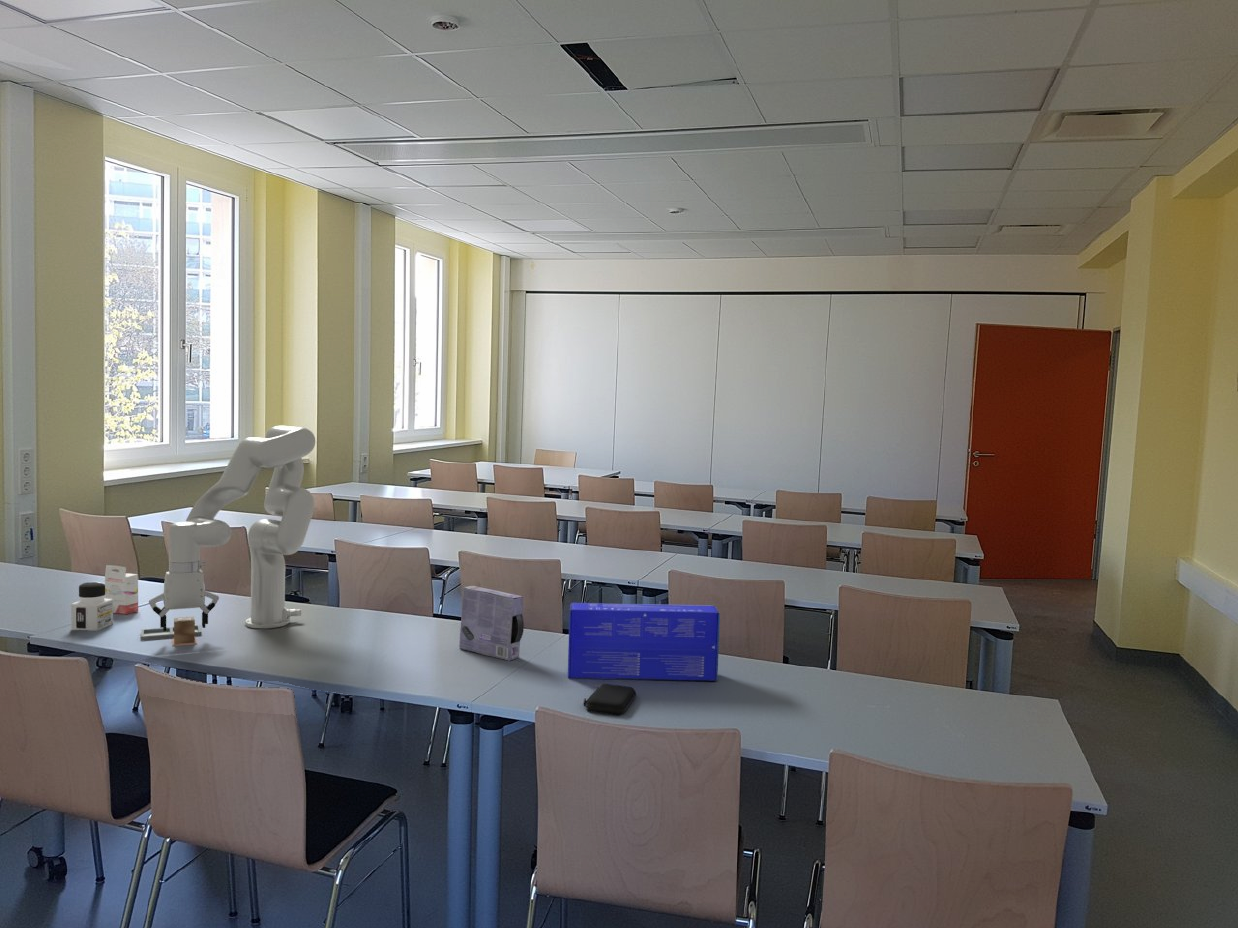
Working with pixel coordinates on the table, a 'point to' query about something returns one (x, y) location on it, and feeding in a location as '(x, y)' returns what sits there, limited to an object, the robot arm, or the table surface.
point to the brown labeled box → (184, 630)
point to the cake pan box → (491, 622)
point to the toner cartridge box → (643, 641)
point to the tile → (183, 643)
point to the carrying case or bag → (610, 699)
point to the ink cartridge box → (121, 589)
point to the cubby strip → (163, 633)
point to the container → (91, 608)
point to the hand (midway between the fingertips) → (184, 628)
